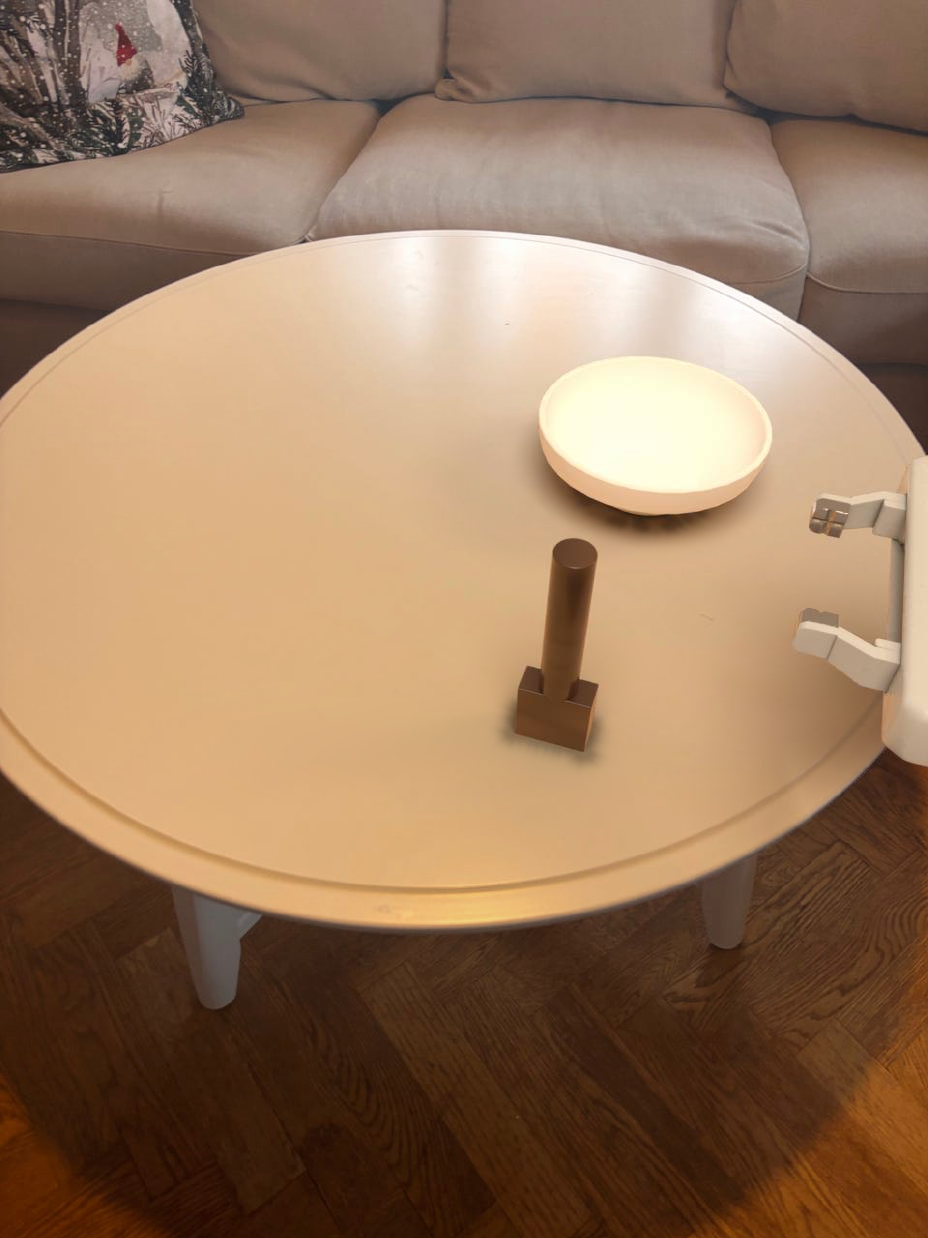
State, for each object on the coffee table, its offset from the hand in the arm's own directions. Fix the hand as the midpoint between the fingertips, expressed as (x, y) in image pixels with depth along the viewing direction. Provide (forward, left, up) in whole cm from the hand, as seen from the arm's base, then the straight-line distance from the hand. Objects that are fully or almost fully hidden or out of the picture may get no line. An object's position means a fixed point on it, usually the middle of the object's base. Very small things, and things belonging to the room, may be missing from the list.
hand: (804, 566), depth 51 cm
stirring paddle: (+11, -6, -20) cm, 23 cm away
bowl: (-4, -31, -20) cm, 37 cm away
